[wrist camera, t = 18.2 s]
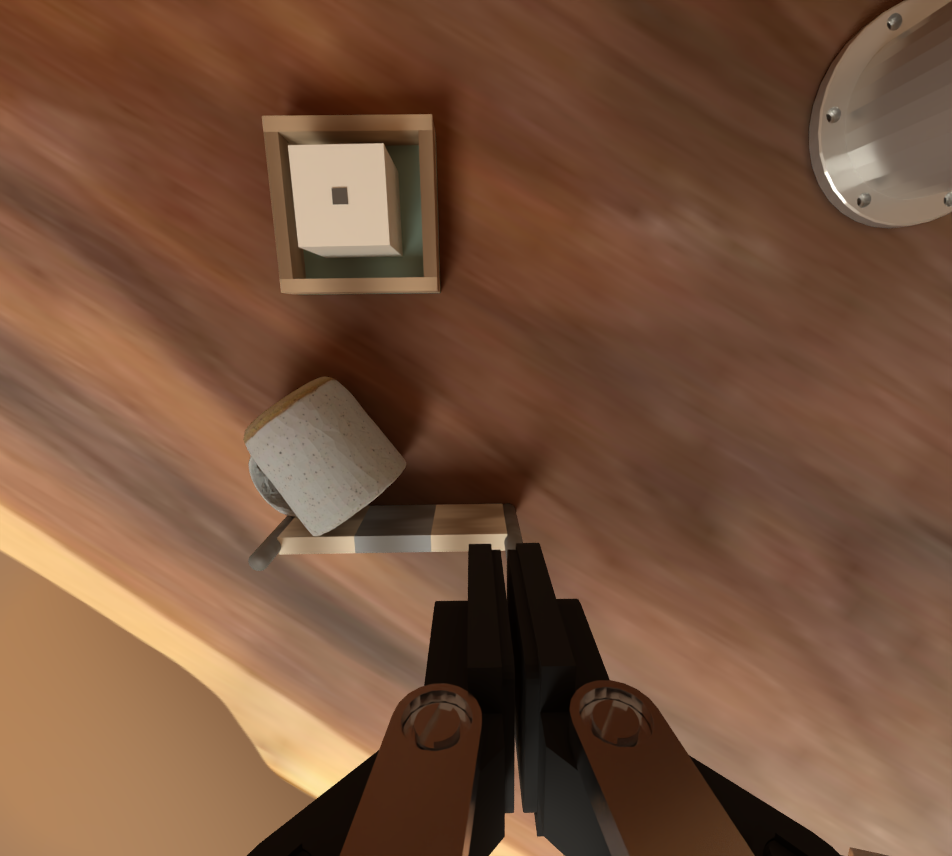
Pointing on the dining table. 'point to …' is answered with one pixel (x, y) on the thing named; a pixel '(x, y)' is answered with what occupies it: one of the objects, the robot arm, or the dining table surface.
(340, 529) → the scoring rail
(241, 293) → the dining table surface
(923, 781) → the dining table surface
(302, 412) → the ceramic mug
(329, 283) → the felt tray
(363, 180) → the die
